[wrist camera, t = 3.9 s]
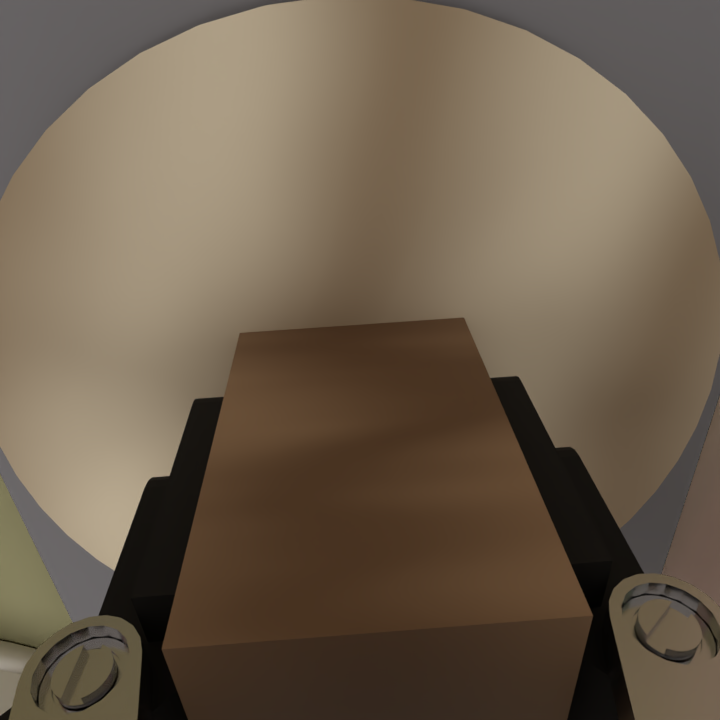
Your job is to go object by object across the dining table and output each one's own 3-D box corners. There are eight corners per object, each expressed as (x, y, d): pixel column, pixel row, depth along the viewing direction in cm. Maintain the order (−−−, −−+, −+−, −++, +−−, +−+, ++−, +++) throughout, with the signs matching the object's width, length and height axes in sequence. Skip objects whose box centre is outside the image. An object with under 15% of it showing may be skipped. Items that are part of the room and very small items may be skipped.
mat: (866, -116, 9) (888, -120, 8) (646, 588, 17) (652, 600, 17) (-236, -54, 8) (-260, -56, 8) (88, 631, 17) (83, 644, 17)
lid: (795, -31, 9) (1729, -80, 3) (624, 580, 16) (797, 917, 10) (-149, 23, 9) (-1164, 92, 3) (110, 619, 16) (-16, 988, 10)
